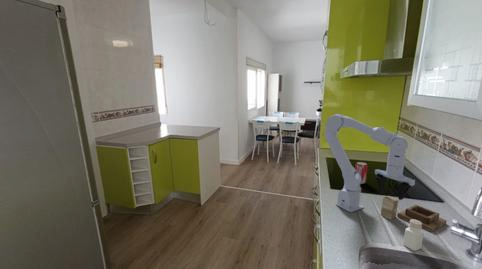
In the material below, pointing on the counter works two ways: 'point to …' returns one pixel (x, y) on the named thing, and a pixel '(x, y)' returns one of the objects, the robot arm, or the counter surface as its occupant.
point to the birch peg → (389, 207)
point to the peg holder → (423, 217)
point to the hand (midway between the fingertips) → (390, 195)
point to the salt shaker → (413, 235)
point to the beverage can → (362, 171)
